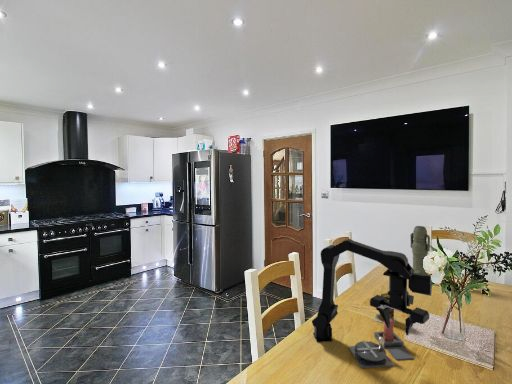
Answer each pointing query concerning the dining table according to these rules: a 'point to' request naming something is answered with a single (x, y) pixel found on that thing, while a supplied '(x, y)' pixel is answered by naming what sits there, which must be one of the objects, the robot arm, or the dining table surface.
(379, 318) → the condiment
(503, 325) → the dining table surface
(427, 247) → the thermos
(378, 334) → the collar
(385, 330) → the pink rounded cylinder
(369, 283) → the dining table surface
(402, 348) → the mat
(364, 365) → the wheel base
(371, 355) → the handwheel
